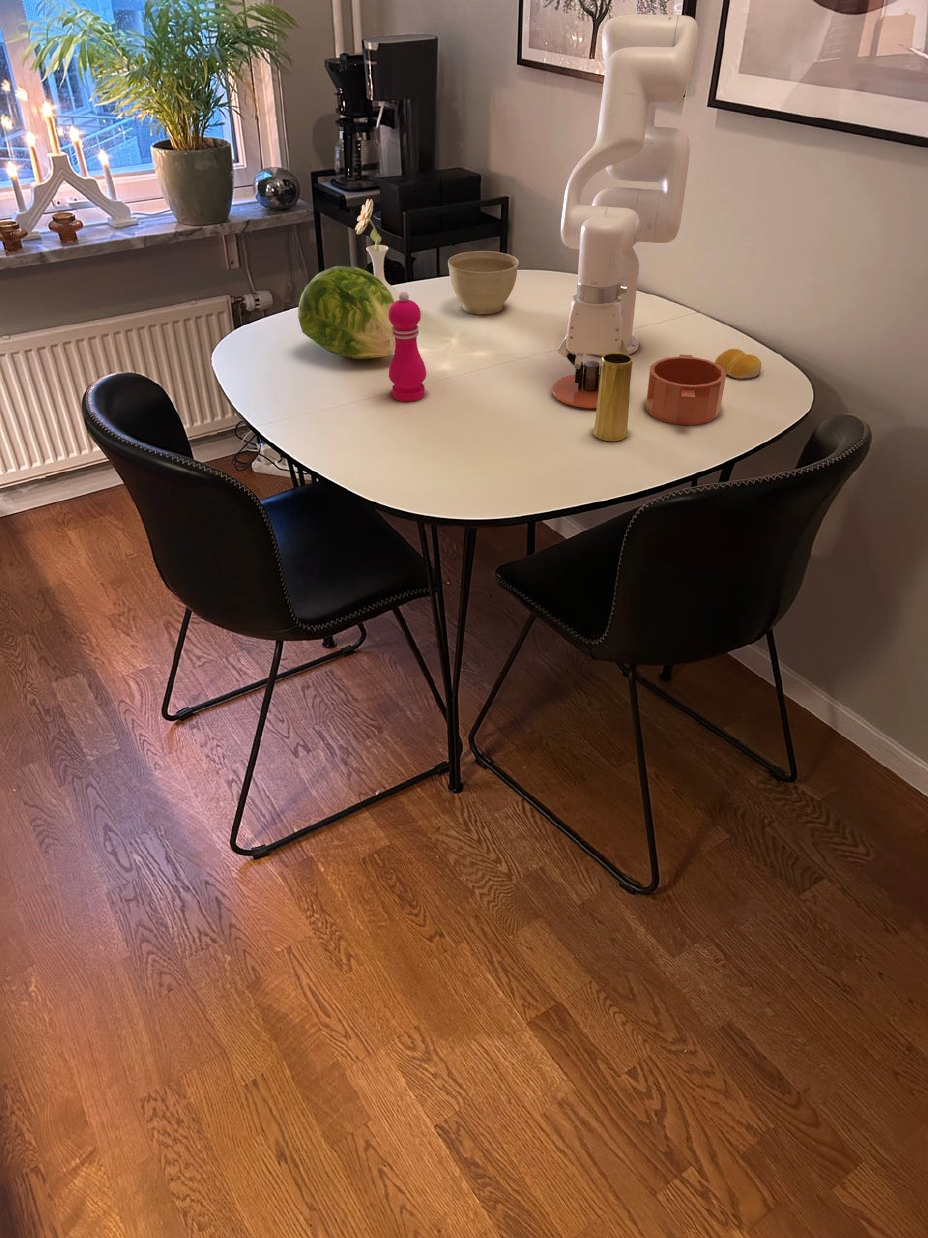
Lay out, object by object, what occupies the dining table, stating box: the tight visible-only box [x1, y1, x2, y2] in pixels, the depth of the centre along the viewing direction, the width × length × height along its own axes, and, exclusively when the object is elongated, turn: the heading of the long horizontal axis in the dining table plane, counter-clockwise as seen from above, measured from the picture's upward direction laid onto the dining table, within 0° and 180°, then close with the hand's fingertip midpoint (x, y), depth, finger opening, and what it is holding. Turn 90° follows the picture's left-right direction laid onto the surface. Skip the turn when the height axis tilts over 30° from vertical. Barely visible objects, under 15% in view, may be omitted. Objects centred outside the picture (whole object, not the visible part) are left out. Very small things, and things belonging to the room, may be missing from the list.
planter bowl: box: [447, 250, 520, 315], centre depth 216 cm, size 16×16×11 cm
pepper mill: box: [388, 291, 427, 402], centre depth 175 cm, size 7×7×20 cm
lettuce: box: [297, 265, 395, 360], centre depth 194 cm, size 18×23×19 cm
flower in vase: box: [354, 198, 401, 302], centre depth 211 cm, size 13×11×25 cm
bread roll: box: [714, 348, 762, 380], centre depth 187 cm, size 8×9×4 cm
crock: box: [645, 354, 727, 426], centre depth 173 cm, size 14×19×8 cm
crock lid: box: [551, 360, 601, 409], centre depth 179 cm, size 15×15×6 cm
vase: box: [592, 352, 634, 442], centre depth 163 cm, size 6×6×14 cm
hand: (590, 386), depth 180 cm, fingers open, 3 cm apart
